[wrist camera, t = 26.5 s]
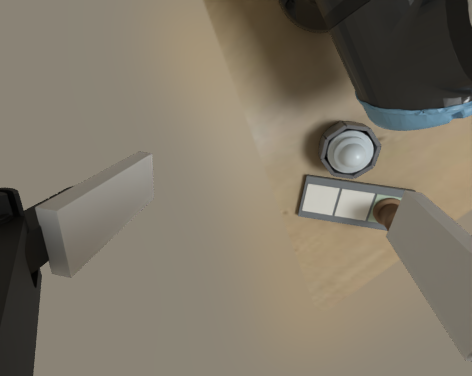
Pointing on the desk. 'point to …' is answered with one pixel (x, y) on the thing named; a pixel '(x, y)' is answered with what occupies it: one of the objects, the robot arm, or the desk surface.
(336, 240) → the desk surface
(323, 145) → the dome base
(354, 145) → the pop-up dome
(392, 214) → the walnut pawn
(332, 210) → the game board
